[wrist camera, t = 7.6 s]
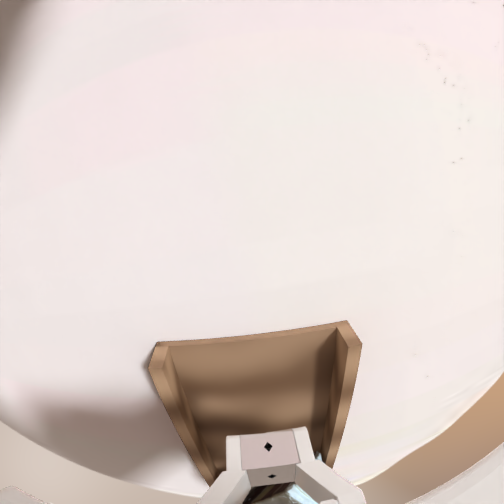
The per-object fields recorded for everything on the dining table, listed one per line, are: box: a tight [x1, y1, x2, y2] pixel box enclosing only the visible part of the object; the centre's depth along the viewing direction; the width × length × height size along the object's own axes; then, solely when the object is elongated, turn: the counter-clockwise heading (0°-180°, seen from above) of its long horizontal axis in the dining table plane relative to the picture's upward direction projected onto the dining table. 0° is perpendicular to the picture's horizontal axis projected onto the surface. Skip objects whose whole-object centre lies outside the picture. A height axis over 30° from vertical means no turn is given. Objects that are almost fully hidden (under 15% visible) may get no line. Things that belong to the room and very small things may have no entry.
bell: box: [242, 451, 325, 504], centre depth 18 cm, size 10×7×12 cm
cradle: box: [148, 320, 362, 487], centre depth 21 cm, size 22×14×3 cm, turn 5°
